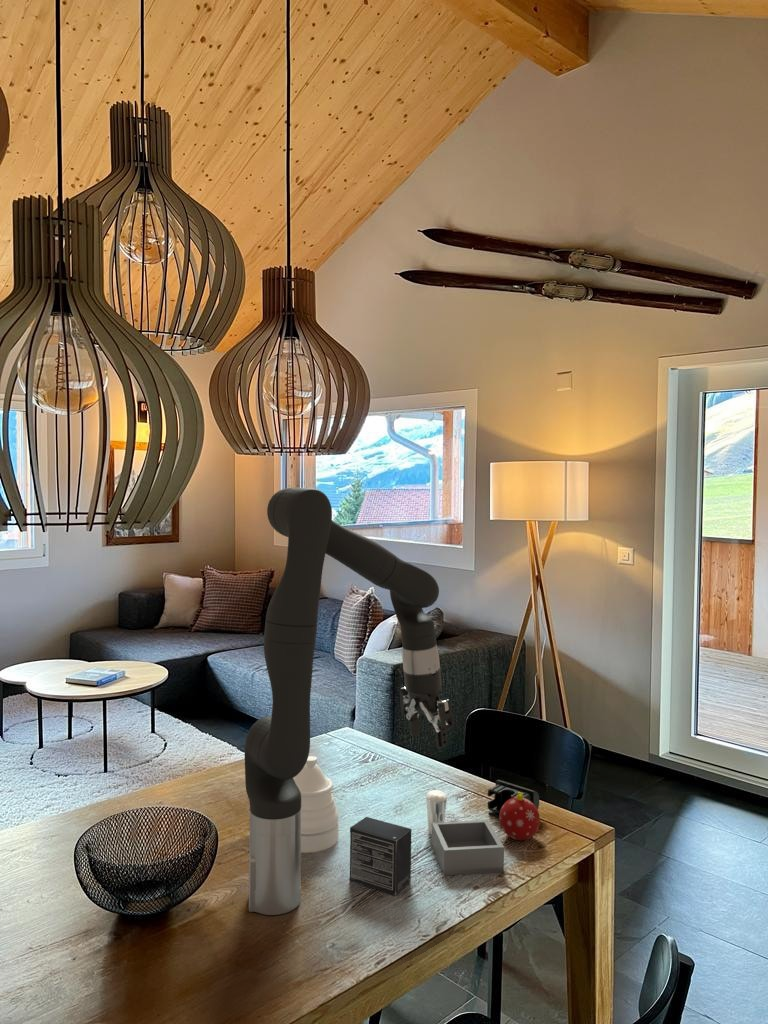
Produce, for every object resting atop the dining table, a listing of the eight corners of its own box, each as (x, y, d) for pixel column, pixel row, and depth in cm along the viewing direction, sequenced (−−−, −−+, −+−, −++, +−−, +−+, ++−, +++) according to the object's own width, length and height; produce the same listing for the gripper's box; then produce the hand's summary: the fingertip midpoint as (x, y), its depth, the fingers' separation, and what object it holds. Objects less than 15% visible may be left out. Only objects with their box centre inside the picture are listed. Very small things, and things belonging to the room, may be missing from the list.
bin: (443, 875, 149) (444, 850, 149) (431, 845, 161) (431, 822, 161) (503, 871, 151) (504, 847, 151) (487, 842, 163) (487, 819, 162)
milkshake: (448, 839, 164) (449, 793, 164) (424, 836, 165) (424, 791, 165) (451, 829, 168) (452, 785, 168) (427, 827, 170) (427, 782, 169)
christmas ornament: (526, 851, 159) (527, 804, 159) (491, 838, 165) (492, 792, 164) (546, 837, 166) (547, 791, 165) (512, 825, 171) (513, 781, 171)
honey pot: (344, 848, 160) (345, 763, 159) (282, 856, 156) (283, 769, 155) (331, 821, 172) (332, 742, 171) (274, 827, 168) (274, 747, 167)
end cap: (539, 816, 176) (540, 787, 176) (523, 827, 170) (524, 797, 170) (501, 804, 182) (502, 776, 182) (485, 814, 177) (486, 785, 177)
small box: (412, 881, 147) (413, 827, 147) (396, 897, 141) (396, 841, 141) (366, 866, 152) (366, 814, 152) (348, 880, 147) (348, 827, 146)
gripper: (386, 664, 161) (393, 737, 163) (430, 679, 150) (437, 758, 152) (413, 655, 165) (420, 726, 168) (458, 669, 154) (465, 745, 156)
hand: (428, 741), depth 160 cm, fingers open, 8 cm apart
